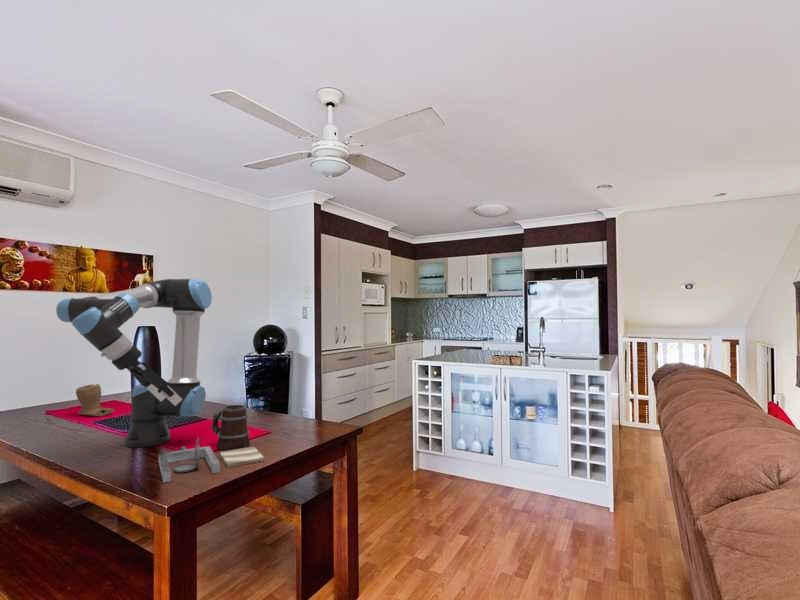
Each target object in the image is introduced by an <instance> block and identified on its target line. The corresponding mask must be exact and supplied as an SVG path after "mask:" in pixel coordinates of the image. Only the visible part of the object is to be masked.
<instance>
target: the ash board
mask: <svg viewBox="0 0 800 600" xmlns="http://www.w3.org/2000/svg"><path fill="white" fill-rule="evenodd" d="M219 456H220V458H221V459H222V461H223V462H224V464H225V466H226V467H227V468H234V467H238V466H245V465H249V464H248V463H250V464H254V463H253V462H256V463H259V462H258V461H261V462H264V461H265V456H263V454H262V453H261V452H260V451H259V450H258V449H257V448H256V447H255V446H247V447H245V448H241V449H235V450H229V451H223V450H222V451H220V452H219ZM263 460H264V461H263ZM244 464H245V465H244Z"/></svg>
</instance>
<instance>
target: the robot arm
mask: <svg viewBox="0 0 800 600" xmlns="http://www.w3.org/2000/svg"><path fill="white" fill-rule="evenodd" d="M212 298H213V296H212V290H211V288H210V287H209V284H208V283H207V282H206V281H204V280H203V279H197V278H195V279H194V278H177V279H175V278H173V279H172V278H166V279H160V280H155V281H151V282H146V283H143V284H139V285H138V286H137V287H134V288H130V289H124V290H118V291H113V292H107V293H101V294H97V295H93V296H87V297H80V298H74V297H72V298H65V299H62V300H60V301H58V304H57V306H56V309H55V311H56V315H57V318H58V319H59V320H60V321H62V322H64V323H71V325H72V326H73V328H74V329H75V330H76V331H78V333H79V334H80V335H81V336H82V337H83V338H85V339H86V340H87V341H88V342H89V343H90V344H91V345H92V346H94V348H96V349H97V350H98V351H99V352H100V353H101V354H100V357H105V358H106V359H108V361H111V364H112V365H113V366H115V368H117V369H118V370H119V371H124V370H126V369H127V371H129V374H131V375H132V376H133V377H134V378H135V379H136V380H137V382H138V383H139V384H138V385H135V386H134V387H133V388H132V390H131V391H132V393H131V417H130V418H131V424H130V426H129V428H128V432H127V434H126V436H125V444H124V445H125V446H126V447H128V448H147V447H156V446H158V445H162V443H163V444H165V443H168V442H169V441H170V440H171V433H170V429H169V427H168V424H167V421H166V417H169V416H170V417H183V418H184V417H193V416H195V415H197V414H198V413H200V411H201V410H202V408H203V407H204V404H205V402H206V396H207V393H206V389H205V387H204V386H202V385H201V380H200V379H199V378H198V377H197V373H198V372H197V370H198V356H199V343H200V342H199V341H200V325H201V317H202V316H203V315H204V314H205V309H208V308H209V307H210V306H211V304H212V302H213V299H212ZM142 308H143V309H151V308H169V309H172V310H171V311H172V313H173V314H174V315H175V317H176V318H175V319H176V320H175V330H174V331H175V333H174V345H173V356H172V357H173V359H172V361H173V362H172V372H171V373H172V374H171V378H170V379H168V381H166V380H165V379H164V378H163V377H162V376H160V375H159V374H158V373H156V372H155V371H154V370H153V369H152V368H151V367H149V365H147V364H146V362H144V361H140V360H139V358H140V357H142V351H140V349H138V347H137V346H135V345H133V342H132V341H131V340H130V339H129V338H128V337H127V336H126V335H125V334H124V333H123V332H121V330H120V329H119V328H121V326H123V325H124V324H125V323H126V322H127V321H129V320H130V319H131V318H133V317H134V315H135V314H136V313H137V312H138V311H139V309H142ZM169 439H170V440H169ZM168 440H169V441H168Z"/></svg>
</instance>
